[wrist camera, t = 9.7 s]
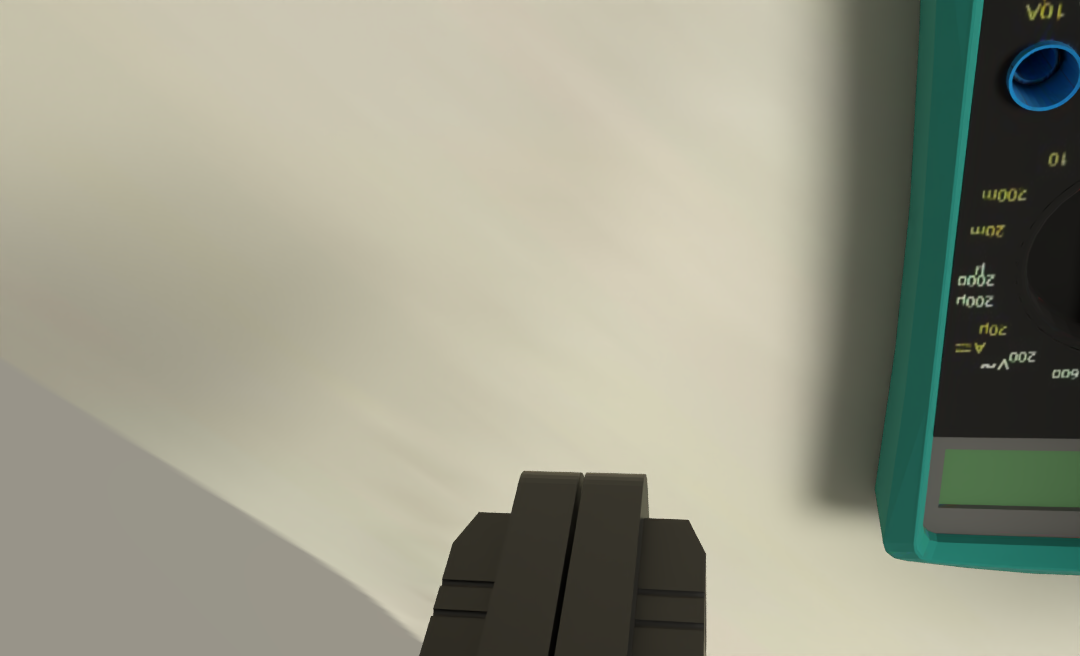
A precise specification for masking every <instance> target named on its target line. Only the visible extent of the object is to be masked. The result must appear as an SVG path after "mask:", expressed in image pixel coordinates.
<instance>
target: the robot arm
mask: <svg viewBox="0 0 1080 656" xmlns="http://www.w3.org/2000/svg"><path fill="white" fill-rule="evenodd" d="M433 609H434V613H433V616H431V618H430V622H429V625H428V628H427V632H426V635H425V638H424V642H423V645H422V648H421V652H420V655H419V656H706V553H705V551H704V549H703V547H702V545H701V543H700V541H699V539H698V538H697V536H696V534H695V532H694V530H693V528H692V526H691V524H690V522H689V520H679V519H652V518H649V507H648V487H647V477H646V474H619V473H586V474H585V477H584V475H583V473H576V472H543V471H523V472H522V474H521V476H520V479H519V483H518V487H517V491H516V495H515V499H514V503H513V507H512V512H511V513H486V512H479V513H478V514H477V515H476V516H475V517H474V519H473V520H472V521H471V522H470V523H469V525H468V526H467V527H466V528H465V529H464V530H463V532H462V533H461V534H460V535H459V536H458V538H457V539H456V540H455V541H454V542H453V544H452V548H451V551H450V554H449V558H448V561H447V565H446V568H445V571H444V575H443V578H442V586H440V588H439V591H438V595H437V598H436V601H435V605H434V608H433Z"/></svg>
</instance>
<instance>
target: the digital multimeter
mask: <svg viewBox="0 0 1080 656" xmlns="http://www.w3.org/2000/svg"><path fill="white" fill-rule="evenodd" d="M983 4H984V8H983ZM982 12H983V16H982ZM981 21H982V25H981ZM980 29H981V34H980ZM979 38H980V42H979ZM978 46H979V51H978ZM977 55H978V59H977ZM976 63H977V68H976ZM975 72H976V76H975ZM974 80H975V85H974ZM973 89H974V93H973ZM972 98H973V102H972ZM971 106H972V111H971ZM970 115H971V119H970ZM969 124H970V128H969ZM968 133H969V136H968ZM967 142H968V145H967ZM966 150H967V153H966ZM965 159H966V162H965ZM964 168H965V170H964ZM963 177H964V179H963ZM962 186H963V187H962ZM961 194H962V196H961ZM960 203H961V205H960ZM959 212H960V213H959ZM958 221H959V222H958ZM956 238H957V239H956ZM1023 241H1024V242H1023ZM1022 243H1023V245H1022ZM1021 246H1022V247H1021ZM951 281H952V282H951ZM1016 282H1017V284H1016ZM1019 297H1020V298H1019ZM949 298H950V299H949ZM1020 300H1021V301H1020ZM1026 312H1027V313H1026ZM947 315H948V316H947ZM1028 315H1029V316H1028ZM1039 328H1040V329H1041V330H1040V329H1039ZM1043 331H1044V332H1045V333H1044V332H1043ZM945 332H946V333H945ZM1054 339H1055V340H1054ZM1056 340H1057V341H1056ZM1058 341H1059V342H1058ZM1060 342H1061V343H1060ZM1062 343H1063V344H1062ZM1069 346H1070V347H1069ZM1071 347H1073V348H1071ZM1074 348H1076V349H1074ZM943 349H944V350H943ZM1077 349H1079V350H1077ZM941 366H942V367H941ZM940 374H941V376H940ZM939 383H940V384H939ZM938 391H939V393H938ZM937 400H938V401H937ZM936 408H937V410H936ZM935 417H936V418H935ZM875 493H876V500H877V506H878V513H879V519H880V526H881V532H882V538H883V544H884V547H885V551H886V552H887V553H889V554H890V555H891V556H892V557H894V558H897V559H901V560H906V561H913V562H922V563H930V564H939V565H948V566H956V567H965V568H975V569H987V570H998V571H1010V572H1021V573H1033V574H1060V575H1080V0H920V28H919V47H918V66H917V84H916V102H915V121H914V139H913V157H912V176H911V194H910V209H909V219H908V228H907V238H906V248H905V258H904V267H903V277H902V287H901V297H900V307H899V316H898V326H897V336H896V346H895V353H894V360H893V367H892V374H891V381H890V388H889V395H888V402H887V409H886V416H885V423H884V430H883V436H882V443H881V450H880V457H879V464H878V471H877V478H876V485H875Z"/></svg>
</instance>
